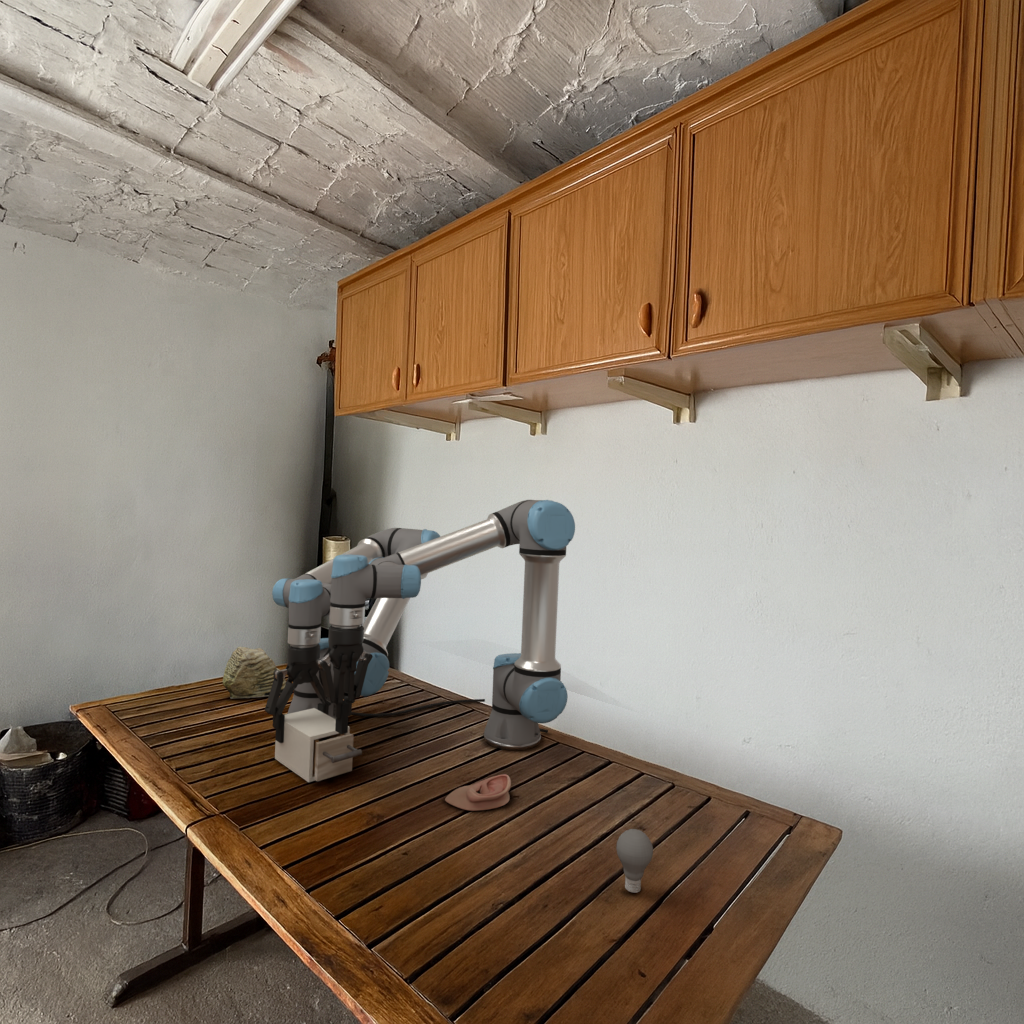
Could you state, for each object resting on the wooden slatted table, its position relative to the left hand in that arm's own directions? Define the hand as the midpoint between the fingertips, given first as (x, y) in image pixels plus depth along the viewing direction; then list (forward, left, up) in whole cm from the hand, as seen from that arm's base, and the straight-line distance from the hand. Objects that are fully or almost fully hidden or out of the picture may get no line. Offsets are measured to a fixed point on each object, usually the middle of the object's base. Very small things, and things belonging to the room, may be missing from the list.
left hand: (300, 735), depth 153 cm
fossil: (-17, -51, -5) cm, 54 cm away
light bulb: (-8, +86, -5) cm, 86 cm away
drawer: (+1, +11, -4) cm, 12 cm away
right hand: (+2, +19, +7) cm, 20 cm away
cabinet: (+1, +5, -5) cm, 8 cm away
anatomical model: (-14, +45, -5) cm, 48 cm away
